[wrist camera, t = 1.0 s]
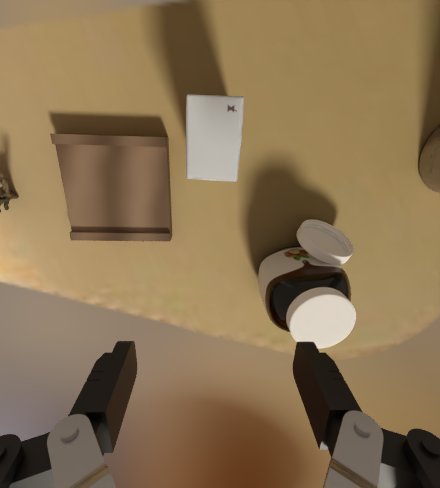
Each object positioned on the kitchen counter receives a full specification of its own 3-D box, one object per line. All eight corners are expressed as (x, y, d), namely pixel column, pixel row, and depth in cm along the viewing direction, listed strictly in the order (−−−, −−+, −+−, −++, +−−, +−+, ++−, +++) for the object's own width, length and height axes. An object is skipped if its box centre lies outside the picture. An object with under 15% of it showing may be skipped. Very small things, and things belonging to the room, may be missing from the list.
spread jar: (257, 297, 39) (276, 358, 28) (248, 226, 35) (267, 265, 24) (338, 284, 39) (388, 341, 28) (339, 211, 35) (399, 244, 24)
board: (168, 137, 30) (165, 137, 28) (172, 235, 35) (170, 241, 33) (60, 133, 30) (50, 133, 28) (78, 234, 34) (70, 240, 32)
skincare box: (193, 108, 29) (185, 90, 18) (232, 110, 30) (246, 94, 18) (192, 164, 32) (184, 179, 20) (228, 166, 32) (239, 182, 21)
